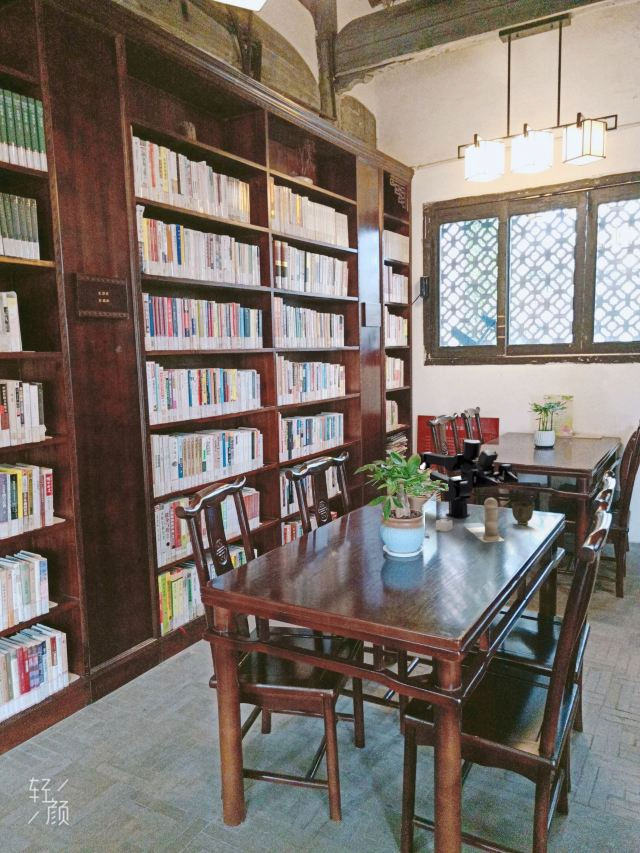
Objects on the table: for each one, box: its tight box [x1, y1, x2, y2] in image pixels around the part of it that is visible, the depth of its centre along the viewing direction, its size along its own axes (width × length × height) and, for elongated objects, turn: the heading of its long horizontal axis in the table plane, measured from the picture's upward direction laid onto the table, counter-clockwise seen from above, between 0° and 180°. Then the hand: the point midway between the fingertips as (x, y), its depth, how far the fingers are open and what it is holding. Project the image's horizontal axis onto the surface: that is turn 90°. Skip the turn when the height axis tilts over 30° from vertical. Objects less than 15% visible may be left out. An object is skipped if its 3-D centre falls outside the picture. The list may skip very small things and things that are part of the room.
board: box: [461, 522, 506, 543], centre depth 203 cm, size 22×7×1 cm, turn 5°
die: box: [435, 518, 453, 532], centre depth 208 cm, size 4×4×4 cm
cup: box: [511, 500, 535, 527], centre depth 212 cm, size 8×7×8 cm
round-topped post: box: [483, 497, 500, 542], centre depth 194 cm, size 5×5×14 cm
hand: (508, 482), depth 205 cm, fingers open, 9 cm apart
